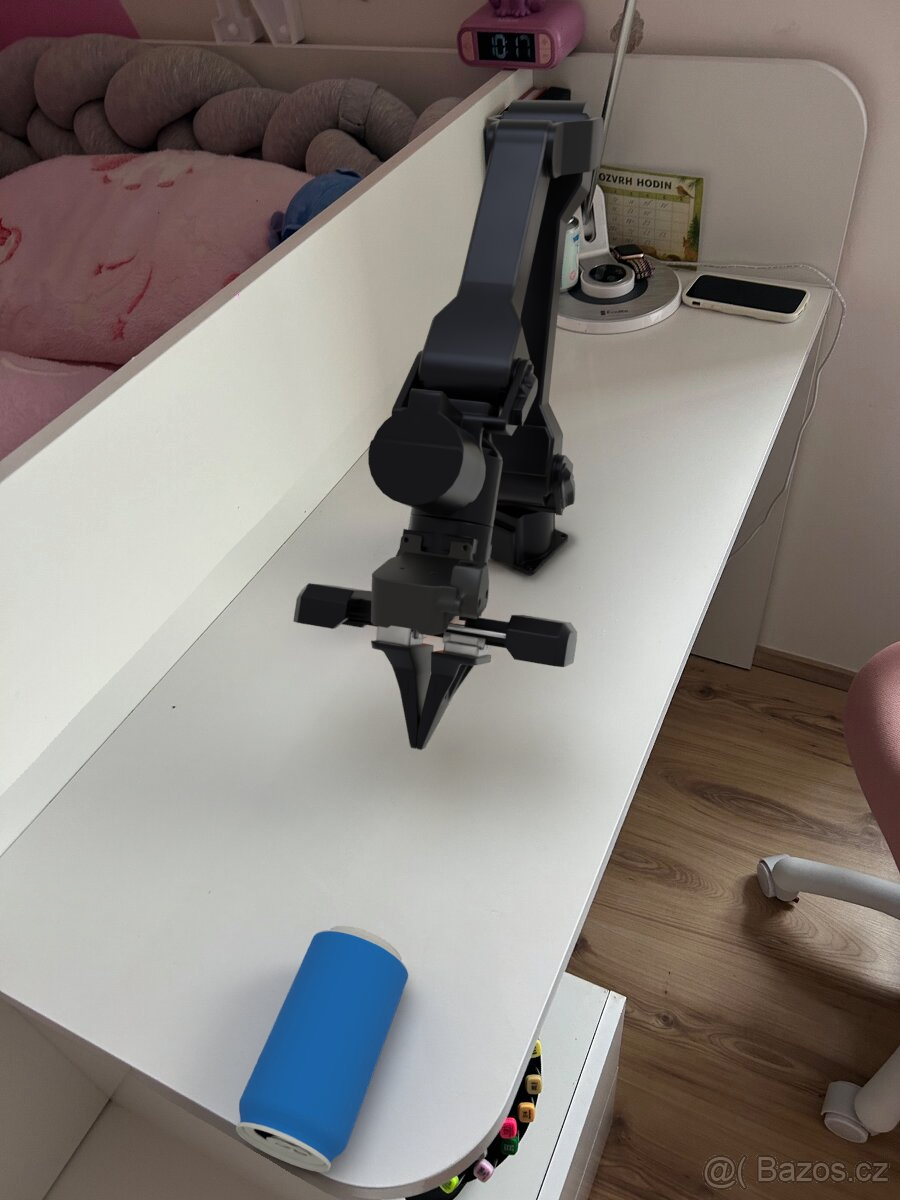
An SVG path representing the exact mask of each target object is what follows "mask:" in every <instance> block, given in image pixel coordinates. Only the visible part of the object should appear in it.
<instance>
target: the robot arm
mask: <svg viewBox="0 0 900 1200" xmlns="http://www.w3.org/2000/svg"><path fill="white" fill-rule="evenodd" d="M604 124H605V123H604V118H603V117H602V116H592V109H591V103H590V101H589V100H563V99H562V100H554V99H553V100H552V99H512V100H511V102H510V103H509V106H508V108H507V110H506V111H503V112H502V113H501V114H496V115H493V116H488V117H486V138H485V152H484V155H485V174H484V179H483V183H482V187H481V191H480V196H479V200H478V205H477V210H476V214H475V217H474V222H473V226H472V231H471V235H470V240H469V244H468V248H467V253H466V257H465V260H464V265H463V269H462V274H461V278H460V281H459V285H458V289H457V292H456V295H455V296H454V298H452V299H451V300H450V301H449V302H448V303H447V304H446V305H445V306H444V307H443V308H442V309H440V310H439V311H438V312H437V313H436V314H435V315H434V317H433V318H432V320H431V323H430V327H429V329H428V331H427V336H426V340H425V341H424V345H423V348H422V350H420V351H418V352H417V354H416V356H415V358H414V360H413V363H412V365H411V366H410V369H409V371H408V373H407V376H406V378H405V380H404V381H403V384H402V386H401V388H400V391H399V393H398V395H397V398H396V400H395V402H394V404H393V406H392V409H391V416H390V417H388V418H386V419H385V420H384V421H383V423H381V425H380V427H378V429H377V430H376V432H375V434H374V436H373V438H372V439H371V441H370V442H369V447H368V455H367V457H368V459H367V463H368V469H369V472H370V477H371V478H372V480H373V482H374V484H375V486H376V487H377V488H378V490H380V491H381V493H382V494H383V495H385V496H386V497H388V499H391V501H394V502H397V503H399V504H401V505H404V506H407V507H410V516H409V521H408V528H403V530H402V535H401V537H400V541H399V548H398V550H397V553H396V554H395V555H394V556H393V557H390V558H389V559H387V560H386V561H385V562H384V563H382V564H381V565H380V566H379V567H378V568H376V569H375V570H374V571H373V572H372V573H371V590H367V589H360V588H353V587H348V586H347V587H346V586H341V585H334V584H321V583H312V582H309V583H307V584H306V585H305V586H304V587H303V588H302V589H301V590H300V592H299V594H298V595H297V597H296V600H295V607H294V608H295V609H294V616H293V621H292V622H294V623H297V624H302V625H307V626H313V627H320V628H325V629H331V630H335V629H337V628H338V627H341V625H343V626H349V627H354V628H360V629H361V628H362V629H363V628H365V627H367V626H369V627H376V628H377V629H376V635H375V640H371V641H370V644H371V648H372V649H374V650H378V651H382V652H383V654H384V655H385V657H386V658H387V660H388V662H389V664H390V666H391V667H392V670H393V673H394V676H395V679H396V683H397V685H398V689H399V695H400V699H401V702H402V703H401V705H402V710H403V715H404V720H405V726H406V731H407V737H408V742H409V747H410V748H411V749H414V750H418V751H419V750H420V751H422V750H424V749H426V748H427V746H428V743H429V742H430V739H431V738H432V736H433V734H434V732H435V730H436V729H437V727H438V725H439V723H440V721H441V720H442V718H443V716H444V715H445V712H446V710H447V708H448V706H449V705H450V703H451V701H452V699H453V697H454V696H455V694H456V692H457V691H458V690H459V688H460V687H461V686H462V684H463V682H464V681H465V679H466V678H467V677H468V676H469V674H470V673H471V672H472V670H473V668H474V667H475V666H480V665H484V664H485V665H486V664H489V663H491V661H492V654H489V653H490V649H491V647H497V648H502V649H506V651H508V653H509V655H511V657H512V658H513V660H516V661H521V662H527V663H533V664H538V665H544V666H550V667H558V668H565V667H568V666H570V665H572V664H574V662H575V654H576V650H577V649H576V648H577V642H578V631H577V630H576V627H574V625H573V624H572V622H570V621H564V620H557V619H551V618H544V617H538V616H531V615H526V614H511V615H510V618H509V621H505V620H497V619H492V618H486V617H482V615H483V612H484V611H485V609H486V608H487V604H488V602H489V592H490V575H489V573H490V572H489V560H490V559H491V558H492V559H494V560H496V561H498V562H501V563H502V564H504V565H507V566H509V567H511V568H514V569H516V570H518V571H520V572H522V573H525V574H526V575H529V576H530V575H534V574H535V573H537V572H538V571H539V570H540V568H542V567H543V566H544V565H545V564H546V563H547V562H548V561H549V560H550V559H551V558H553V556H554V555H555V554H556V553H557V552H558V551H560V549H561V548H562V547H563V546H564V545H565V544H567V542H568V541H569V534H567V533H566V532H563V531H561V530H559V529H557V528H556V516H563V513H564V511H565V509H566V508H568V507H569V506H572V505H574V504H575V501H576V482H575V476H574V463H573V462H572V461H571V460H570V458H569V457H568V456H567V455H565V454H563V445H564V443H563V442H564V433H563V430H562V428H561V426H560V424H559V421H558V420H557V417H556V414H555V413H554V411H553V409H552V406H551V405H550V393H551V384H552V383H551V382H552V375H553V373H552V372H553V365H554V364H553V363H554V353H555V344H556V335H557V334H556V333H557V326H558V317H559V308H560V307H559V306H560V295H561V286H562V276H563V268H564V267H563V266H564V257H565V247H566V238H567V237H566V236H567V229H568V224H569V222H570V221H571V219H573V216H574V215H575V214H576V212H577V211H578V209H579V208H580V206H582V204H583V202H584V201H585V199H586V198H587V196H588V195H589V192H590V191H591V186H592V178H593V171H594V170H595V169H596V168H598V167H599V165H600V163H601V159H602V153H603V149H604V148H603V147H604V135H605V134H604V133H605V129H604V128H605V125H604ZM455 617H458V621H463V622H464V623H457V622H452V621H453V620H454V619H455ZM427 636H429V637H430V636H431V637H436V638H442V643H443V649H441V650H434V647H435V644H431V643H425V642H424V641H425V639H426V638H427Z"/></svg>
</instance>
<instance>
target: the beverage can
mask: <svg viewBox="0 0 900 1200" xmlns="http://www.w3.org/2000/svg"><path fill="white" fill-rule="evenodd" d="M408 979H409V971H408V969H407V967H406V965H405V964H404V963H403V961H402V956H401V953H399V951H398V950H397V949H396V948H395V947H394V945H392V944H391V943H390V942H388V941H387V940H386V939H383V938H382V937H380V936H378V935H377V934H374V933H372V932H370V931H368V930H365V929H362V928H359V927H355V926H349V925H336V926H333V927H331V928H330V929H325V930H321V931H318V932H316V933H315V934H314V935H313V937H312V939H311V941H310V943H309V946H308V947H307V949H306V952H305V954H304V957H303V959H302V961H301V962H300V966H299V967H298V969H297V972H296V974H295V977H294V979H293V981H292V983H291V985H290V988H289V990H288V992H287V994H286V995H285V999H284V1000H283V1003H282V1005H281V1008H280V1010H279V1012H278V1014H277V1017H276V1019H275V1021H274V1023H273V1025H272V1027H271V1030H270V1032H269V1035H268V1037H267V1039H266V1041H265V1042H264V1043H265V1044H264V1045H263V1048H262V1050H261V1053H260V1055H259V1056H258V1059H257V1061H256V1063H255V1066H254V1067H253V1070H252V1072H251V1074H250V1076H249V1079H248V1080H247V1083H246V1086H245V1087H244V1090H243V1092H242V1094H241V1096H240V1099H239V1102H238V1110H239V1122H238V1123H237V1125H236V1127H235V1132H236V1133H237V1134H238V1135H239V1136H240V1138H241V1139H243V1140H244V1141H245V1142H247V1143H249V1144H250V1145H252V1146H253V1147H255V1148H256V1149H258V1150H260V1151H262V1152H263V1153H265V1154H267V1155H269V1156H271V1157H274V1158H275V1159H278V1160H280V1161H282V1162H285V1163H287V1164H290V1165H292V1166H294V1167H298V1168H301V1169H304V1170H308V1171H312V1172H315V1173H316V1172H317V1173H328V1172H330V1170H331V1167H332V1161H333V1160H335V1159H336V1158H337V1157H340V1155H341V1154H343V1153H344V1151H345V1150H346V1149H347V1147H348V1143H349V1141H350V1139H351V1136H352V1133H353V1130H354V1127H355V1124H356V1122H357V1119H358V1117H359V1113H360V1110H361V1108H362V1106H363V1103H364V1100H365V1097H366V1094H367V1092H368V1089H369V1086H370V1084H371V1080H372V1078H373V1076H374V1075H373V1074H374V1072H375V1069H376V1067H377V1064H378V1061H379V1059H380V1056H381V1053H382V1050H383V1047H384V1045H385V1043H386V1039H387V1036H388V1034H389V1031H390V1029H391V1025H392V1023H393V1020H394V1017H395V1014H396V1012H397V1009H398V1006H399V1003H400V1001H401V998H402V995H403V993H404V991H405V987H406V984H407V981H408Z"/></svg>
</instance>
